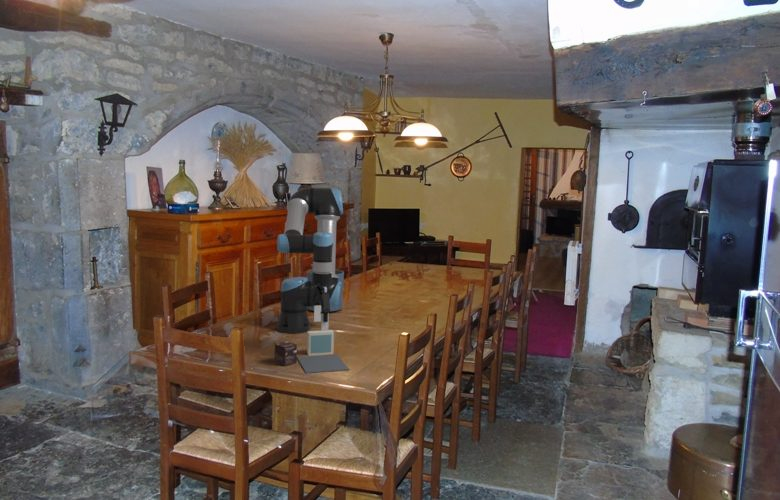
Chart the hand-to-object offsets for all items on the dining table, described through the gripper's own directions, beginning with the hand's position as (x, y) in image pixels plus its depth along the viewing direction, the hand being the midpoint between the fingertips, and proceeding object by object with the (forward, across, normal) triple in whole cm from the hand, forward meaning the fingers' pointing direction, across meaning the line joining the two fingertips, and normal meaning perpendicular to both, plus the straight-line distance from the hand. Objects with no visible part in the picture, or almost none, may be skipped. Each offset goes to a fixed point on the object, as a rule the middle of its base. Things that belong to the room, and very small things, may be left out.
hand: (320, 325), depth 244 cm
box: (+12, +8, -15) cm, 21 cm away
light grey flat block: (+12, 0, 0) cm, 12 cm away
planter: (+10, -73, +18) cm, 76 cm away
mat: (+12, +12, -2) cm, 17 cm away
